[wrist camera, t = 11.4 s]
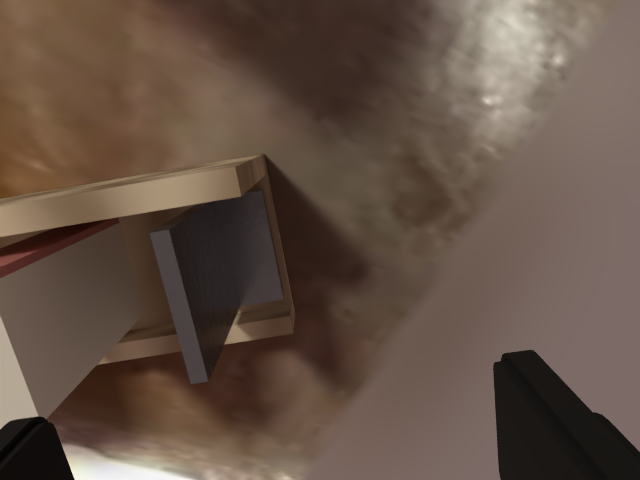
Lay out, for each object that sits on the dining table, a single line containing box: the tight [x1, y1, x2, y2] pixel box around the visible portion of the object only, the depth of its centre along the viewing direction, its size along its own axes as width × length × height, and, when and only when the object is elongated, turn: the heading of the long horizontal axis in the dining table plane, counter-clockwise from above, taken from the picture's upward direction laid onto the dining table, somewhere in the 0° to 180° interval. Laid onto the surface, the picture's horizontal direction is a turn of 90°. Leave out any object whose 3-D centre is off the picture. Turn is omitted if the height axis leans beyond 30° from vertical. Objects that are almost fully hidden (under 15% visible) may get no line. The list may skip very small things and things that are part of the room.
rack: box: [0, 154, 295, 365], centre depth 23 cm, size 26×11×12 cm, turn 99°
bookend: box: [150, 189, 284, 384], centre depth 22 cm, size 4×7×9 cm, turn 9°
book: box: [0, 217, 145, 429], centre depth 22 cm, size 4×7×11 cm, turn 9°
